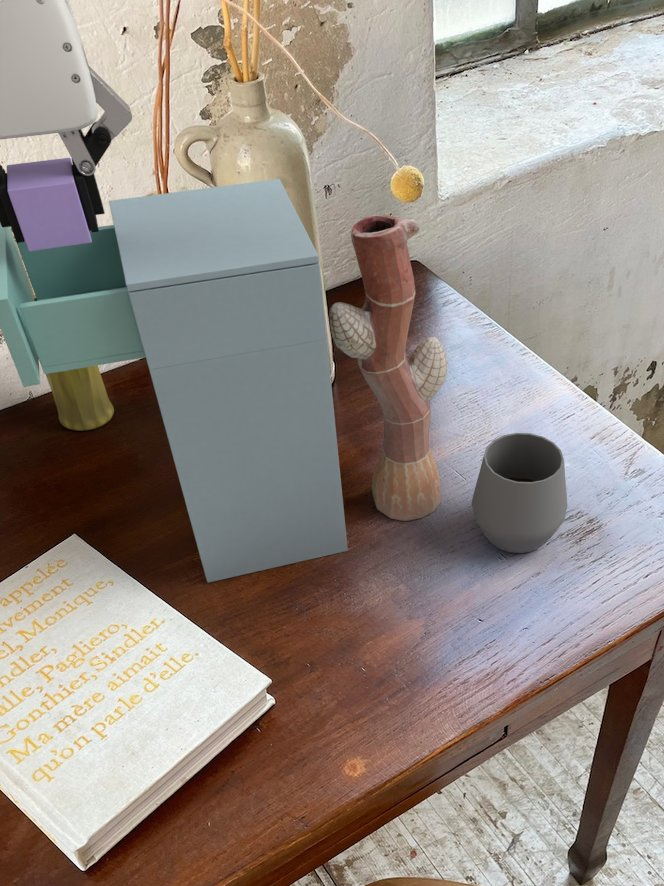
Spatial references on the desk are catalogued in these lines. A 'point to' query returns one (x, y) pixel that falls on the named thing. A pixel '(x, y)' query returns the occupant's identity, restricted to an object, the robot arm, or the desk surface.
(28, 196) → the lavender foam block
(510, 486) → the cup
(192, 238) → the tall blue pedestal box
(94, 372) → the vase
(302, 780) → the desk surface
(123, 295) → the mint cabinet drawer
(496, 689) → the desk surface
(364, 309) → the vase
